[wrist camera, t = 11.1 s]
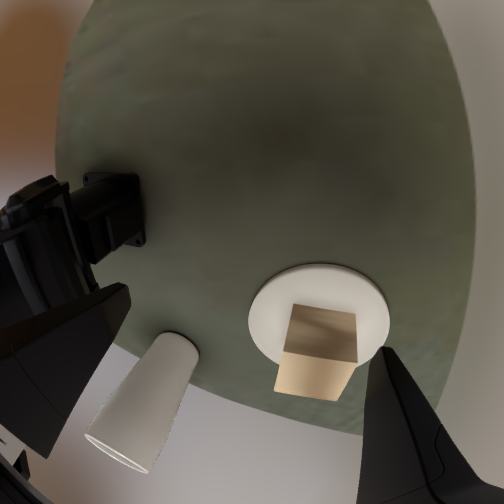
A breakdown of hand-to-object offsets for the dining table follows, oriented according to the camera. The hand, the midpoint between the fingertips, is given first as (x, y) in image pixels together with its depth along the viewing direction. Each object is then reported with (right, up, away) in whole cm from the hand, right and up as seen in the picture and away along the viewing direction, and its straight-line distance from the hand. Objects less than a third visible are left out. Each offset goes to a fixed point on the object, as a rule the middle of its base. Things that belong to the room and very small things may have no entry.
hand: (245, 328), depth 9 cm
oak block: (+6, -4, +13) cm, 15 cm away
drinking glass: (-8, -8, +21) cm, 24 cm away
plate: (+6, -4, +14) cm, 15 cm away
